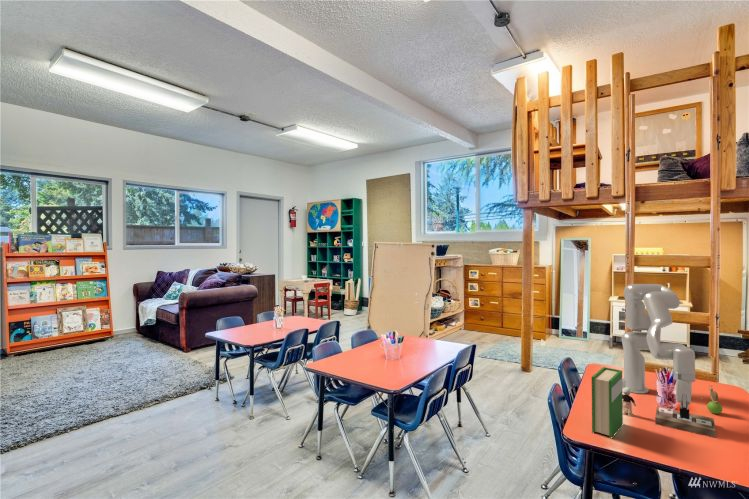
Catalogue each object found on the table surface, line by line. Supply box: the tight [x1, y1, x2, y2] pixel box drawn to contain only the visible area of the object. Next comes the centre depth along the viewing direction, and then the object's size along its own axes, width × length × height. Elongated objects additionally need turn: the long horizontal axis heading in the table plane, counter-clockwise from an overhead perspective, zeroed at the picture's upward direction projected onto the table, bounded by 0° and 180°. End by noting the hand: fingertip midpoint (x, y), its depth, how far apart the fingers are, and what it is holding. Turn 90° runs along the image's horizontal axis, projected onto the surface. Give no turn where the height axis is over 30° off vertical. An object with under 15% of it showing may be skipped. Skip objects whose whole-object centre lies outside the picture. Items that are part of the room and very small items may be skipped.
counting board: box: [654, 406, 717, 438], centre depth 167 cm, size 20×14×3 cm
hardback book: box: [591, 366, 624, 438], centre depth 164 cm, size 18×7×24 cm, turn 135°
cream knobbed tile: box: [696, 419, 712, 426], centre depth 163 cm, size 5×5×3 cm
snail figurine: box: [706, 385, 723, 415], centre depth 178 cm, size 5×6×12 cm
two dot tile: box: [658, 406, 674, 418], centre depth 171 cm, size 5×5×3 cm
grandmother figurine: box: [622, 387, 637, 417], centre depth 178 cm, size 8×4×13 cm, turn 47°
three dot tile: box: [677, 414, 692, 422], centre depth 167 cm, size 5×5×3 cm
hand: (684, 417), depth 167 cm, fingers closed
